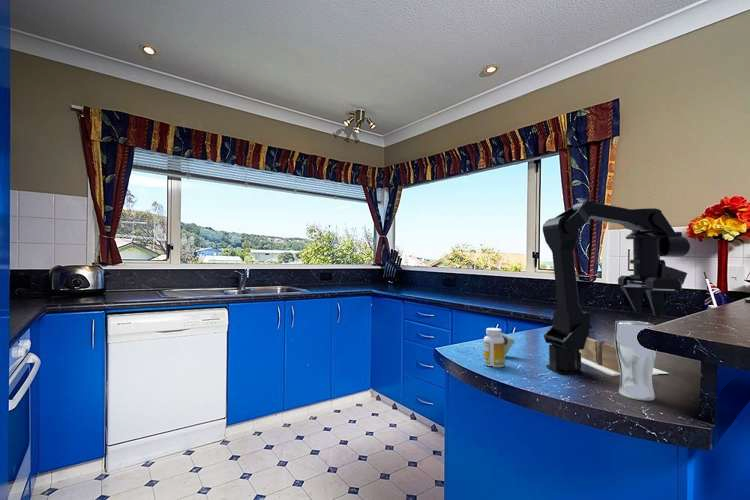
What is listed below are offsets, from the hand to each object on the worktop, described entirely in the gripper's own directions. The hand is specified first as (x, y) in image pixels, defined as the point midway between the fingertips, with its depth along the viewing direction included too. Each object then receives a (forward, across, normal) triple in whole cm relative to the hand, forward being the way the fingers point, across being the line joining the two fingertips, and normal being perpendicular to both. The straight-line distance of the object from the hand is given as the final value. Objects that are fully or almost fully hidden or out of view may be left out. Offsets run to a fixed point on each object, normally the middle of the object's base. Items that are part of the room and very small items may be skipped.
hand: (647, 314), depth 94 cm
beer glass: (+14, -23, +14) cm, 31 cm away
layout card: (+14, 0, +8) cm, 16 cm away
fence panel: (+13, +4, +13) cm, 19 cm away
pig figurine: (+15, +5, +36) cm, 39 cm away
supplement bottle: (+15, -5, +40) cm, 43 cm away
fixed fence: (+14, -6, +11) cm, 19 cm away
